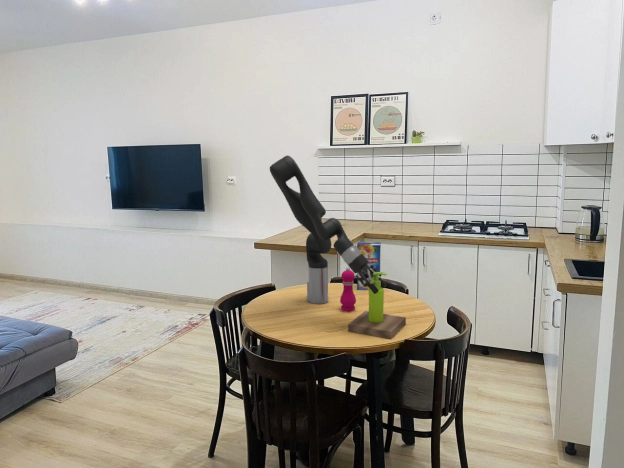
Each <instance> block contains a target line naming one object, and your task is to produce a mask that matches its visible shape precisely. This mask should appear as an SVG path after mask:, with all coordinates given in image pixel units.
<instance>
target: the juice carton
mask: <svg viewBox="0 0 624 468" xmlns="http://www.w3.org/2000/svg"><path fill="white" fill-rule="evenodd" d="M356 244H357V245H356V248H358V249H359V251H360V252H361V253H362V254H363V255H364V256H365V258H366V259H367V260H368V261H369V263H368V264H367V265H368V266H369V267H370V266H371V265H373V266H374V267H375V268H376V269H377V270H378V272H381V246H382V245H381V242H377V241H375V242H374V241H371V242H370V241H364V242H363V241H358V242H357V243H356ZM357 274H358V272H357V273H356V275H357ZM371 281H372V280H371ZM356 282H357V284H356V290H357V291H369V287H367V286H366V287H364V286H363V285H362V283H361V282H360V281H359V280H358V278H357V277H356Z"/></svg>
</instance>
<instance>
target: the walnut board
mask: <svg viewBox="0 0 624 468" xmlns="http://www.w3.org/2000/svg"><path fill="white" fill-rule="evenodd" d="M406 322H407V317H405V316H399V315H394V314H393V315H392V314H386V313H383V321H382V322H379V323H374V322H370V321H369V310H364V312H362V313H360V314H359V315H358V316H356V317H355V318H354V319H352V321H350V322H349V323H348V324H347V332H350V333H356V334H360V335H361V334H362V335H366V336H372V337H377V338H382V339H387V340H392V339H393V338H394V337H395V336H396V335H397V334H398V333H399V332H400V330H401V329H402V328H403V327H405V326H406Z"/></svg>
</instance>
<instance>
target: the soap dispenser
mask: <svg viewBox="0 0 624 468" xmlns="http://www.w3.org/2000/svg"><path fill="white" fill-rule="evenodd" d="M373 275H375V276H374V280H372V284H374V285H375V286H376V287H377V289H378V290H379V291H378V292H377V293H376V294H374V293H373V292H372V290H371V289H370V288H369V290H368V311H369V321H370V322H374V323H379V322H382V321H383V314H384V305H385V304H384V303H385V301H384V299H385V292H384V291H385V289H384V288H381V281H380V280H379V275H382V276H387V275H388V273H387V272H382V271H380V272H373Z"/></svg>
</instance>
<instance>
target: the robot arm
mask: <svg viewBox="0 0 624 468" xmlns="http://www.w3.org/2000/svg"><path fill="white" fill-rule="evenodd" d="M269 171H270V174H271V176H272V178H273V179H274V182H275V183H276V185H277V186H278V188H279V190H280V191H281V193H282V195H283V196H284V198H285V201H286V202H287V204H288V206H289V209H290V210H291V212H292V214H293V216H294V218H295V219H296V221H297V222H298V223H299V224H300V225H301V226H303V228H304V229H306V230H307V231H308V232H309V234H308V235H307V237H306V240H305V251H306V252H305V253H306V261H307V263H308V281H307V282H306V302H308V303H311V304H315V305H317V304H318V305H320V304H321V305H323V304H326V303H329V276H328V275H329V272H328V271H329V267H328V266H329V263H328V260H327V259H326V258H324V257H323V256H322V254H328V253H329V252H330V251H331V248H332V246H333V248H334V250H335V251H336V252H337V254H339V256H340V257H341V258H342V260H343V261H344V263H346V265H347V267H349V268H350V270H351V271H353V272H354V274H355V277H356V279H357V278H358V280H359V281H360V282H361V283H362V285H363V286H364V287H366V286H367V287H369V288H370V289H371V290H372V292H373V293H374V294H376V293H377V292H378V291H379V290H378V289H377V287H376V286H375V285H374V284H372V281H371V280H374V276H375V275H373V272H378V270H377V269H376V268H375V267H374V266H373V265H371V266H370V267H369V266H368V265H367V264H368V263H369V261H368V260H367V259H366V258H365V256H364V255H363V254H362V253H361V252H360V251H359V249H358V248H357V246H356V245H354V243H353V242H352V240H350V239H349V238H348V235H347V234H346V231H345V229H344V228H343V225H342V222H341V221H340V220H339V219H337V218H335V217H330V218H328V219H327V220H325V221H324V222H323V221H322V218H323V217H324V216H325V215H326V214H327V213H326V212H327V210H326V209H325V207H324V206H323V204H322V203H321V202H320V200H319V199H318V198H317V197H316V195H315V193H314V191H313V190H312V188H311V186H310V185H309V182H308V181H307V179H306V177H305V176H304V174H303V171H302V170H301V168H300V167H299V165H298V163H297V162H296V160H295V159H294V158H293V157H291V156H290V155H285V156H283V157H282V158H281V159H280V158H279V160H277V161H275V162H273V163H272V164H271V165H269ZM292 178H295V179H296V181H297V183H298V187H299V192H298V191H296V190H295V189H292V188H291V187H290V186H288V183H287V182H288V181H290V180H291V179H292ZM335 236H336V237H337V239H336V240H335V242H334V243H333V245H332V240H331V239H332V238H333V237H335ZM357 272H358V274H357ZM382 276H383V275H379V280H380V281H381V288H383V289H384V288H386V287H387V283H386V282H384V280H383V279H382Z"/></svg>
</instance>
